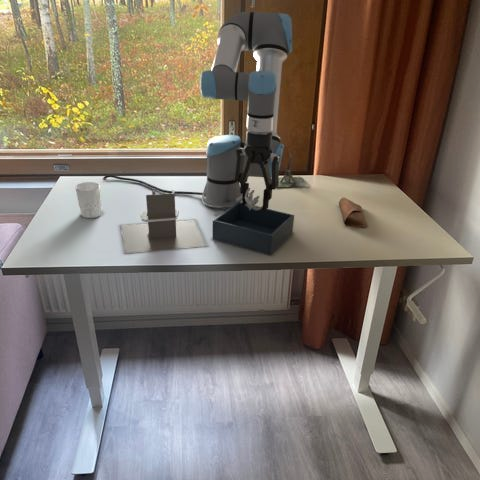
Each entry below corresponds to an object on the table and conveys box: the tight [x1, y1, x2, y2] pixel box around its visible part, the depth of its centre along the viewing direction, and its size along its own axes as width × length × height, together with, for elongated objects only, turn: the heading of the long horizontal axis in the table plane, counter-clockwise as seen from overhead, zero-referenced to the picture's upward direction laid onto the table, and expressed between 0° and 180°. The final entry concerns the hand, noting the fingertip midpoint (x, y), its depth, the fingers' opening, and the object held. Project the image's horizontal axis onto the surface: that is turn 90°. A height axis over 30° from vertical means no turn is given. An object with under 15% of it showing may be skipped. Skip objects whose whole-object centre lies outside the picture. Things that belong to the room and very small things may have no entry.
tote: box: [212, 202, 295, 256], centre depth 163 cm, size 21×18×7 cm
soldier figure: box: [245, 187, 263, 211], centre depth 158 cm, size 8×5×12 cm
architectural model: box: [120, 189, 207, 254], centre depth 159 cm, size 20×25×15 cm
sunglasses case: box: [338, 197, 368, 228], centre depth 180 cm, size 18×7×7 cm, turn 178°
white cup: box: [74, 181, 102, 219], centre depth 171 cm, size 8×8×10 cm
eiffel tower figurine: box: [271, 150, 310, 188], centre depth 202 cm, size 15×10×13 cm
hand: (255, 206), depth 159 cm, fingers closed on soldier figure, 6 cm apart
